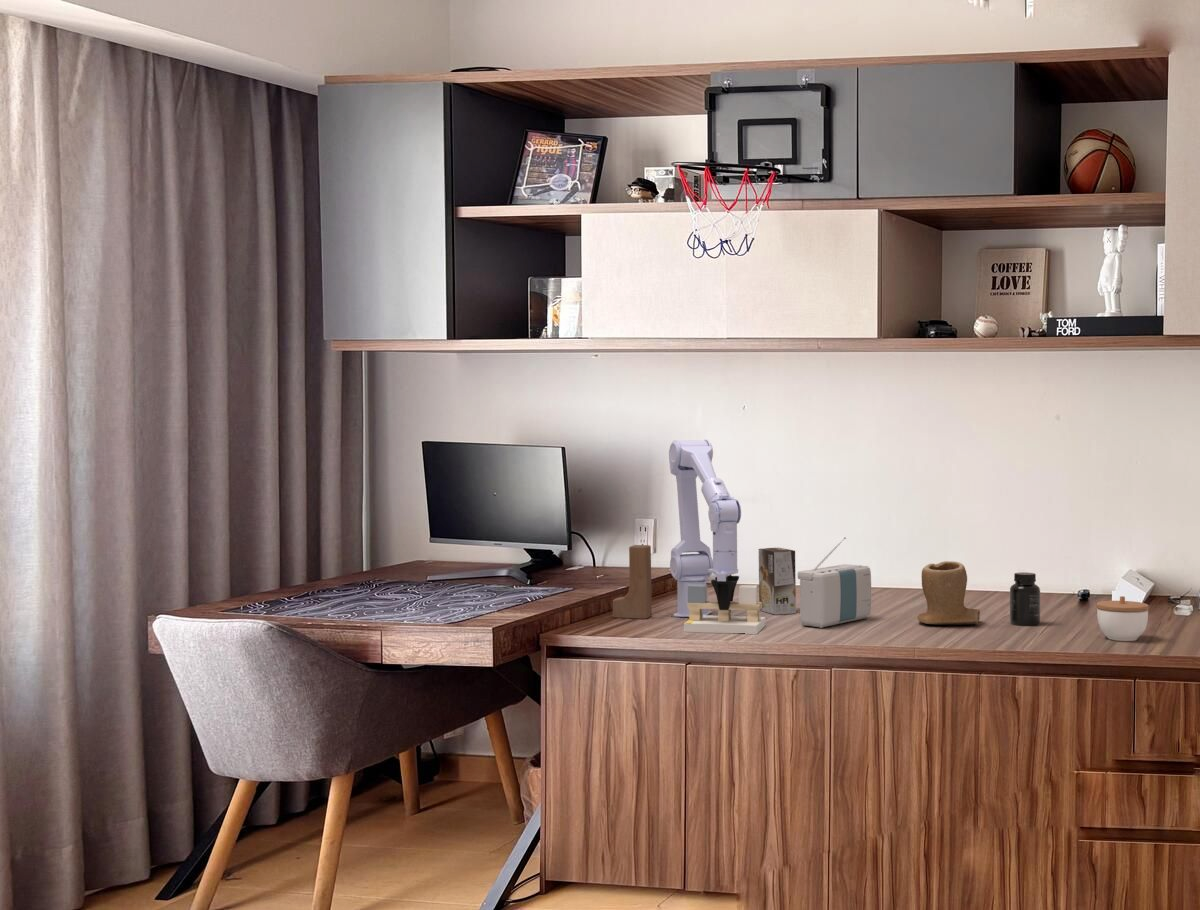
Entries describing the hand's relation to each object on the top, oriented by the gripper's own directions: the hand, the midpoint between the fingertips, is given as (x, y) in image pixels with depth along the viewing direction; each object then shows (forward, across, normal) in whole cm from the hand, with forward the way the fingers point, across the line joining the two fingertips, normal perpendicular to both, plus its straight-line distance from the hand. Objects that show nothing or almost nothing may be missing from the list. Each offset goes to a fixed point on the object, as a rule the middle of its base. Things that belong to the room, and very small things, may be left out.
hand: (725, 608), depth 315 cm
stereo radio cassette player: (+5, -12, +25) cm, 28 cm away
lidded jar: (+5, +2, +88) cm, 88 cm away
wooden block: (+5, -14, -25) cm, 29 cm away
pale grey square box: (-1, 0, -7) cm, 7 cm away
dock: (+5, 0, 0) cm, 5 cm away
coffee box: (+5, -27, +10) cm, 30 cm away
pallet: (+3, 0, 0) cm, 3 cm away
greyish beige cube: (-1, 0, +5) cm, 5 cm away
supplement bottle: (+5, -17, +69) cm, 71 cm away
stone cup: (+5, -13, +52) cm, 54 cm away
